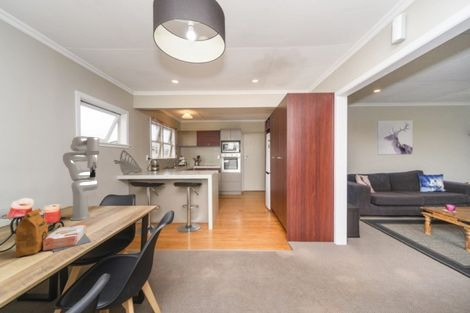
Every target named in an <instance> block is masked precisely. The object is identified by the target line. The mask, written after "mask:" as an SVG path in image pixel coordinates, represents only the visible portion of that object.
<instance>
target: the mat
mask: <svg viewBox="0 0 470 313" xmlns="http://www.w3.org/2000/svg"><path fill="white" fill-rule="evenodd" d="M88 243H92V241H91V239H90V238H89V236H88V235H87V234H86V233H85V234H84V235H83V236H82V237H81V239H80V240H79V241H78V242H77V244H76V245H72V246H67V247H61V248H55V249H51V250H52V251H53V253H58V252H60V251H64V250H68V249H70V248H74V247H77V246H81V245H85V244H88Z"/></svg>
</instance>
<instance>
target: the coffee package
mask: <svg viewBox="0 0 470 313" xmlns="http://www.w3.org/2000/svg"><path fill="white" fill-rule="evenodd" d="M42 211H43V210H42V209H41V208H36V209H35V210H32V211H29V212H27V213H26V214H25V215H24V216H23V217H22V219H21V220H20V221H19V223H18V224H17V226H16V231H15V244H14V245H15V258H20V257H24V256H28V255H29V256H30V255H33V254H37V253H39V251H41V250H43V240H44V239H46V238H47V237H48V236H49V234H48V232H49V226H48V222H46V220H45V219H44V218H43V217H42V215H41V213H42Z"/></svg>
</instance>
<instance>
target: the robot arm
mask: <svg viewBox="0 0 470 313" xmlns="http://www.w3.org/2000/svg"><path fill="white" fill-rule="evenodd" d="M70 149H71V150H72V151H71V152H68V151H67V152H66V153H65V152H64V153H63V155H62V162H63V164H64V166H65V167H66V168H67V169H68V172H69V173H68V174H69V175H70V179H71V181H73V182H72V183H71V191H72V192H71V193H72V217H70V218H69V220H70V221H81V220H82V221H83V220H86V219H88V218H90V217H91V214H89V196H88V194H87V193H85V192H87V191H88V192H89V191H95V190H97V189H99V182H98V179H97V176H96V173H97V172H96V169H97V168H98V156H100V138H99V137H96V136H75V137H73V138H72V140H71V144H70ZM77 162H80V163H82V162H87V164H86V166H87V167H86V168H88V169H82V166H81V165H80V164H79V163H77Z"/></svg>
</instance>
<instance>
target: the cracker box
mask: <svg viewBox="0 0 470 313" xmlns="http://www.w3.org/2000/svg"><path fill="white" fill-rule="evenodd" d="M86 232H87V223H80V224H75V225H68V226H67V225H66V226H60V227H58V228H57V229H55V230H54V231H53V232H51V234H48V237H47V238H46V239H44V240H43V248H42V251H48V250H52V249H55V248H61V247H67V246H72V245H76V244H77V242H78V241H79V240H80V239H81V237H82V236H83V235H84V234H85V235H86Z"/></svg>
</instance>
